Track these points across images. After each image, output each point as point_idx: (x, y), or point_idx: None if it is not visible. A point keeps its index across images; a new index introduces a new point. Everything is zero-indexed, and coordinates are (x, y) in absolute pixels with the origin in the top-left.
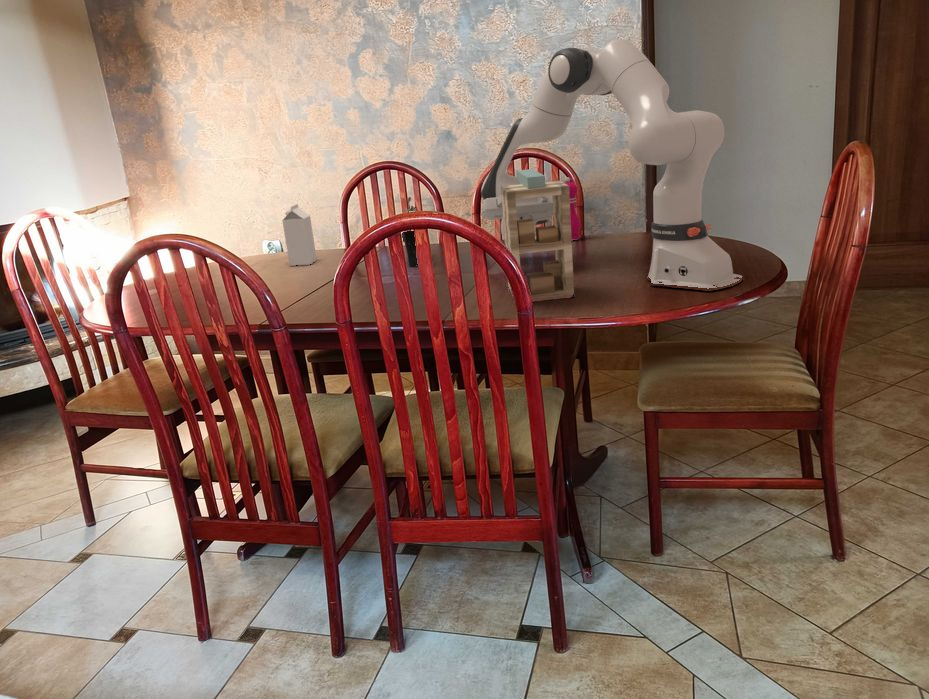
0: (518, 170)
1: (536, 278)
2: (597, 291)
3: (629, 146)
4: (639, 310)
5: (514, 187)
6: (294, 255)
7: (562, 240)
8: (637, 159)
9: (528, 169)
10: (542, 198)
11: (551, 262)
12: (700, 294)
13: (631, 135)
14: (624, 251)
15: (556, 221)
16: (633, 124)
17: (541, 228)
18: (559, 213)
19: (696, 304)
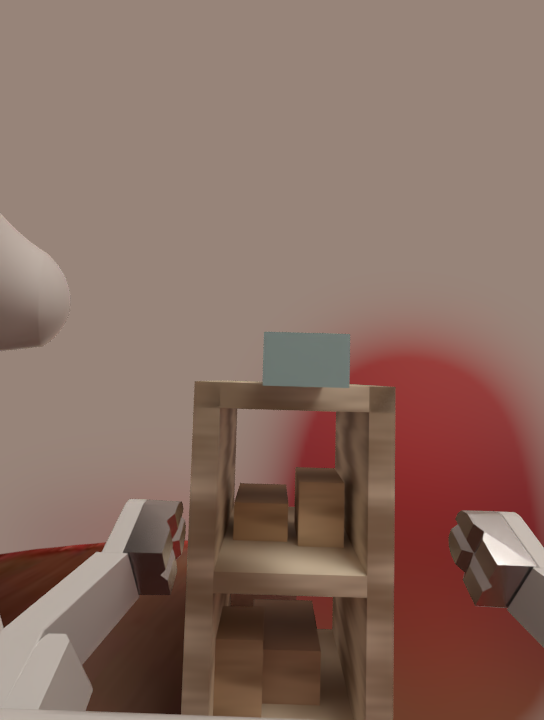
0: (338, 334)
1: (296, 601)
2: (133, 668)
3: (58, 303)
4: None
5: None
6: None
7: (232, 507)
8: (51, 335)
9: (285, 332)
10: (84, 673)
11: (241, 623)
12: (9, 581)
13: (62, 281)
14: None
15: (223, 495)
16: (16, 242)
17: (275, 493)
18: (231, 451)
19: (72, 552)
